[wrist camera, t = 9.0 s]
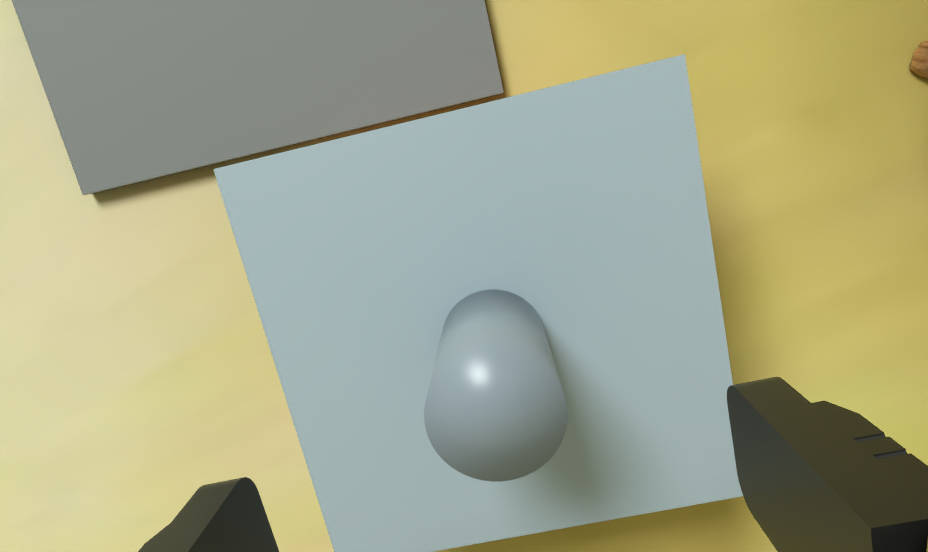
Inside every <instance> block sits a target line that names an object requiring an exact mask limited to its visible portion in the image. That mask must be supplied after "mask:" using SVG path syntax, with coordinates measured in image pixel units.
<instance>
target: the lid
mask: <svg viewBox="0 0 928 552" xmlns="http://www.w3.org/2000/svg"><path fill="white" fill-rule="evenodd" d="M213 170H214V173H215V176H216V179H217V183H218V186H219V189H220V192H221V195H222V198H223V202H224V205H225V208H226V211H227V214H228V217H229V221H230V224H231V227H232V230H233V233H234V236H235V239H236V243H237V246H238V249H239V252H240V255H241V258H242V262H243V265H244V268H245V271H246V274H247V277H248V281H249V284H250V287H251V290H252V293H253V296H254V299H255V303H256V306H257V309H258V312H259V315H260V318H261V322H262V325H263V328H264V331H265V334H266V337H267V340H268V344H269V347H270V350H271V353H272V356H273V359H274V363H275V366H276V369H277V372H278V375H279V378H280V382H281V385H282V388H283V391H284V394H285V397H286V400H287V404H288V407H289V410H290V413H291V416H292V419H293V423H294V426H295V429H296V432H297V435H298V438H299V441H300V445H301V448H302V451H303V454H304V457H305V460H306V464H307V467H308V470H309V473H310V476H311V479H312V483H313V486H314V489H315V492H316V495H317V498H318V501H319V505H320V508H321V511H322V514H323V517H324V520H325V524H326V527H327V530H328V533H329V536H330V539H331V543H332V546H333V549H334V552H433V551H439V550H445V549H450V548H456V547H461V546H467V545H473V544H478V543H484V542H489V541H495V540H501V539H506V538H512V537H517V536H523V535H529V534H534V533H540V532H545V531H551V530H557V529H562V528H568V527H573V526H579V525H585V524H590V523H596V522H601V521H607V520H613V519H618V518H624V517H629V516H635V515H641V514H646V513H652V512H657V511H663V510H669V509H674V508H680V507H685V506H691V505H697V504H702V503H708V502H713V501H719V500H725V499H730V498H736V497H741V496H743V493H742V490H741V487H740V484H739V480H738V475H737V469H736V462H735V455H734V448H733V441H732V434H731V427H730V420H729V412H728V405H727V389H728V387H729V386H731V385H733V381H732V374H731V367H730V360H729V353H728V347H727V340H726V333H725V326H724V319H723V312H722V306H721V299H720V292H719V285H718V278H717V271H716V264H715V258H714V251H713V244H712V237H711V230H710V223H709V217H708V210H707V203H706V196H705V189H704V182H703V175H702V169H701V162H700V155H699V148H698V141H697V134H696V128H695V121H694V114H693V107H692V100H691V93H690V86H689V80H688V73H687V66H686V59H685V54H684V55H680V56H676V57H672V58H668V59H664V60H659V61H655V62H651V63H647V64H643V65H639V66H635V67H631V68H627V69H622V70H618V71H614V72H610V73H606V74H602V75H598V76H594V77H590V78H585V79H581V80H577V81H573V82H569V83H565V84H561V85H557V86H553V87H549V88H544V89H540V90H536V91H532V92H528V93H524V94H520V95H516V96H512V97H507V98H503V99H499V100H495V101H491V102H487V103H483V104H479V105H475V106H470V107H466V108H462V109H458V110H454V111H450V112H446V113H442V114H438V115H434V116H429V117H425V118H421V119H417V120H413V121H409V122H405V123H401V124H397V125H392V126H388V127H384V128H380V129H376V130H372V131H368V132H364V133H360V134H355V135H351V136H347V137H343V138H339V139H335V140H331V141H327V142H323V143H319V144H314V145H310V146H306V147H302V148H298V149H294V150H290V151H286V152H282V153H277V154H273V155H269V156H265V157H261V158H257V159H253V160H249V161H245V162H240V163H236V164H232V165H228V166H224V167H220V168H216V169H213Z"/></svg>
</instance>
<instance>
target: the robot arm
mask: <svg viewBox="0 0 928 552" xmlns="http://www.w3.org/2000/svg"><path fill="white" fill-rule="evenodd" d="M727 405H728V412H729V420H730V427H731V434H732V441H733V448H734V455H735V462H736V469H737V475H738V480H739V484H740V487H741V490H742V493H743V496H744V499H745V501H746V503H747V506H748V508H749V510H750V511H751V513H752V515H753V516H754V518H755V519H756V521H757V522H758V524H759V525H760V527H761V528H762V530H763V531H764V532H765V534H766V535H767V537H768V538H769V540H770V541H771V543H772V544H773V545H774V547H775V548H776V550H777V551H778V552H928V466H927V465H926V464H924V463H923V462H922V461H920V460H919V459H918V458H916V457H915V456H914V455H912V454H907V452H906V449H905V448H903V447H902V446H901V445H899V444H898V443H897V442H895V441H894V440H893V439H892V438H890V437H885V435H884V432H882V431H881V430H880V429H878V428H877V427H876V426H875V425H873V424H872V423H871V422H869V421H868V420H867V419H865V418H864V417H863V416H861V415H860V414H858V413H856V412H853V411H850V410H848V409H845V408H842V407H840V406H837V405H835V404H832V403H829V402H827V401H820V402H815V403H810V402H809V401H808V400H807V399H806V398H804V397H803V396H802V395H801V394H800V393H798V392H797V391H796V390H795V389H794V388H793V387H791V386H790V385H789V384H788V383H787V382H785V381H784V380H783V379H782V378H780V377H773V378H768V379H762V380H757V381H752V382H747V383H741V384H736V385H731V386H729V387H728V389H727ZM138 552H279V550H278V547H277V544H276V541H275V539H274V536H273V533H272V530H271V527H270V524H269V521H268V518H267V515H266V513H265V510H264V507H263V504H262V501H261V498H260V495H259V492H258V490H257V487H256V485H255V484H254V482H253V481H252V480H251V479H249V478H246V477H244V478H239V479H233V480H228V481H223V482H218V483H213V484H207V485H203V486H201V487H200V488H199V489H198V490H197V491H196V492H195V494H194V495H193V496H192V497H191V499H190V500H189V501H188V502H187V504H186V505H185V506H184V507H183V509H182V510H181V511H180V512H179V514H178V515H177V516H176V517H175V519H174V520H173V521H172V522H171V523H170V524H169V525H168V526H166V527H165V528H164V529H163V530H161V531H160V532H159V533H158V534H156V535H155V536H154V537H153V538H151V539H150V540H149V541H148V542H146V543H145V544H144V545H143V547H142V548H141V549H140V550H139V551H138Z"/></svg>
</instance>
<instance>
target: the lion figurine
mask: <svg viewBox="0 0 928 552" xmlns="http://www.w3.org/2000/svg"><path fill="white" fill-rule="evenodd" d="M909 68H910V70H912V71H913V72H914V73H916V74H918V75H919V76H922V77H926V78H928V41H925V42H922V43H921V44H920V45H919V47H918V48H917V49H916V50H915V51H914V53H913V56H912V60H911V63H910V66H909Z"/></svg>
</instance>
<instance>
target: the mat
mask: <svg viewBox="0 0 928 552" xmlns="http://www.w3.org/2000/svg"><path fill="white" fill-rule="evenodd" d="M12 2H13V5H14V8H15V10H16V13H17V16H18V19H19V21H20V24H21V27H22V30H23V32H24V35H25V38H26V41H27V43H28V46H29V49H30V52H31V54H32V57H33V60H34V62H35V65H36V68H37V71H38V73H39V76H40V79H41V82H42V84H43V87H44V90H45V93H46V95H47V98H48V101H49V104H50V106H51V109H52V112H53V114H54V117H55V120H56V123H57V125H58V128H59V131H60V134H61V136H62V139H63V142H64V145H65V147H66V150H67V153H68V156H69V158H70V161H71V164H72V167H73V169H74V172H75V175H76V177H77V180H78V183H79V186H80V188H81V191H82V194H83V195H87V194H93V193H97V192H101V191H105V190H109V189H113V188H118V187H122V186H126V185H130V184H134V183H138V182H142V181H146V180H150V179H155V178H159V177H163V176H167V175H171V174H175V173H179V172H183V171H187V170H191V169H196V168H200V167H204V166H208V165H212V164H216V163H220V162H224V161H228V160H233V159H237V158H241V157H245V156H249V155H253V154H257V153H261V152H265V151H269V150H274V149H278V148H282V147H286V146H290V145H294V144H298V143H302V142H306V141H310V140H315V139H319V138H323V137H327V136H331V135H335V134H339V133H343V132H347V131H352V130H356V129H360V128H364V127H368V126H372V125H376V124H380V123H384V122H388V121H393V120H397V119H401V118H405V117H409V116H413V115H417V114H421V113H425V112H430V111H434V110H438V109H442V108H446V107H450V106H454V105H458V104H462V103H466V102H471V101H475V100H479V99H483V98H487V97H491V96H495V95H499V94H503V93H504V91H503V86H502V82H501V77H500V72H499V67H498V62H497V58H496V53H495V48H494V43H493V38H492V34H491V29H490V24H489V19H488V15H487V10H486V5H485V0H12Z"/></svg>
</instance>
